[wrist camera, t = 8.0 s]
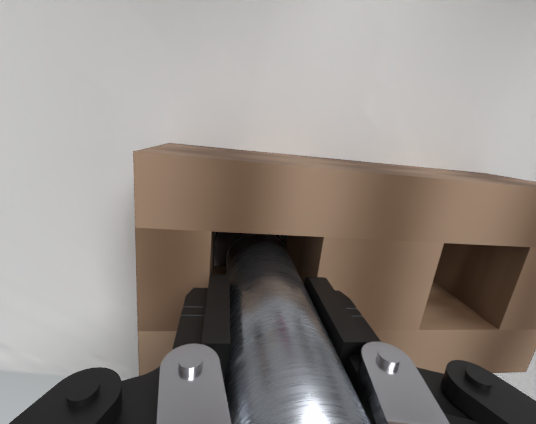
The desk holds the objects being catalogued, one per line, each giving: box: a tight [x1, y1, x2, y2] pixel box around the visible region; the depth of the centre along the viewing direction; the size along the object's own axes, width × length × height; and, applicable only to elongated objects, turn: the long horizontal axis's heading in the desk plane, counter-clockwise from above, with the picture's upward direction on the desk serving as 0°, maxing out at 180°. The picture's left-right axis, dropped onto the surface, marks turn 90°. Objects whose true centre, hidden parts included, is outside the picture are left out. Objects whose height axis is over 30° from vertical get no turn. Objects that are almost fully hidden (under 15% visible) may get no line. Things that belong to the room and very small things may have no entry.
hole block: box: [133, 143, 536, 376], centre depth 15 cm, size 20×10×6 cm, turn 84°
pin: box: [225, 233, 371, 424], centre depth 9 cm, size 3×3×10 cm
